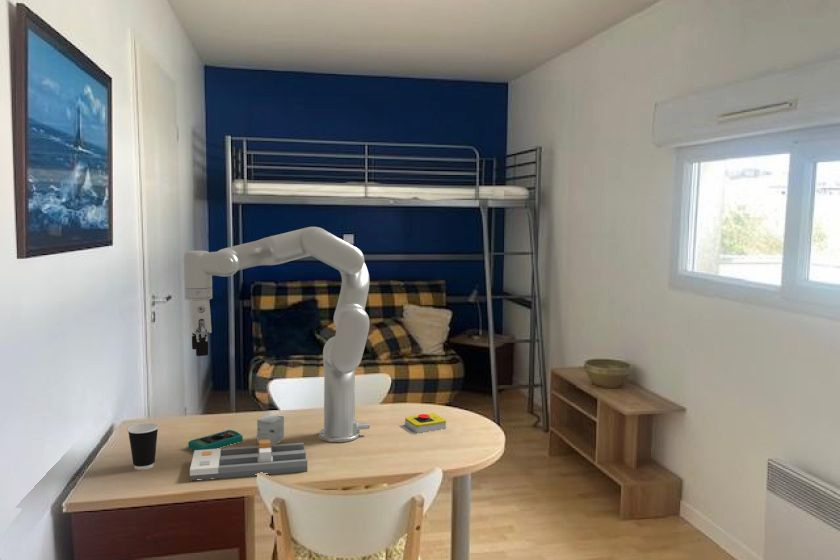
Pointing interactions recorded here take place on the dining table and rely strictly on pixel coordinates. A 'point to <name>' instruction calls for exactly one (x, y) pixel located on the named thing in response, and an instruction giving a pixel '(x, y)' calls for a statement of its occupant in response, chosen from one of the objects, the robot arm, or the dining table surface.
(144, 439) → the dixie cup
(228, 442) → the digital multimeter
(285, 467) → the switch panel
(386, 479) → the dining table surface
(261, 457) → the tab white
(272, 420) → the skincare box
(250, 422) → the dining table surface
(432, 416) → the emergency button
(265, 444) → the tab orange
